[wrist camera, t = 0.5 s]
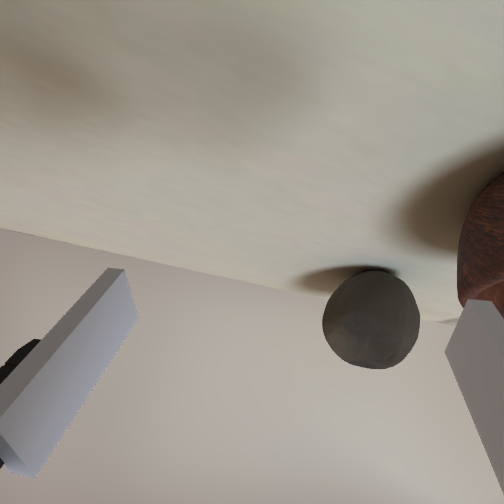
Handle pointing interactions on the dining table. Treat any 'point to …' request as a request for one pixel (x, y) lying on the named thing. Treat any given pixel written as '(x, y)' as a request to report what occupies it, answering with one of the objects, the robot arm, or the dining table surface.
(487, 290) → the wooden bowl
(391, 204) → the dining table surface
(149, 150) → the dining table surface
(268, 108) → the dining table surface
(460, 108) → the dining table surface
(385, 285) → the dark brown ball
